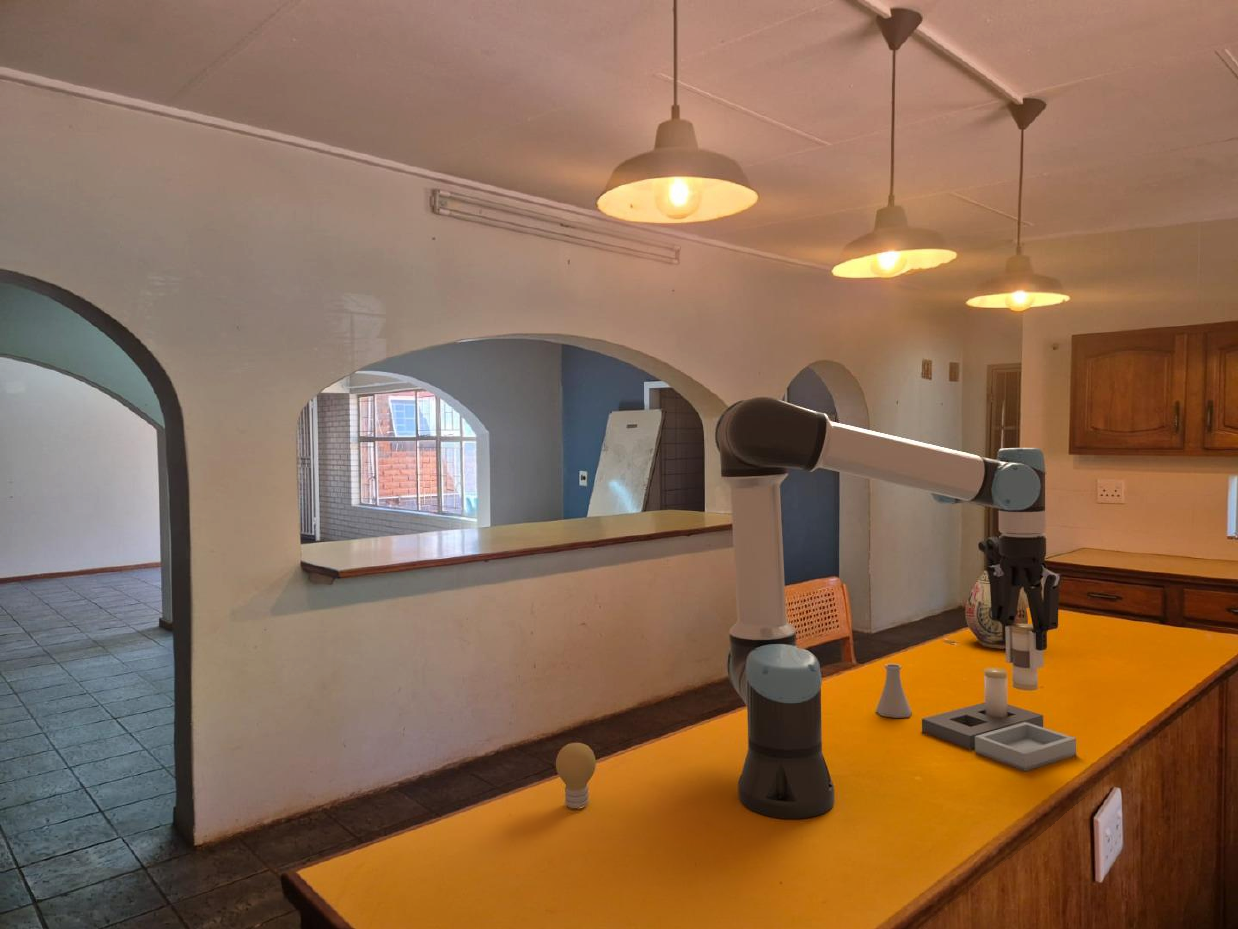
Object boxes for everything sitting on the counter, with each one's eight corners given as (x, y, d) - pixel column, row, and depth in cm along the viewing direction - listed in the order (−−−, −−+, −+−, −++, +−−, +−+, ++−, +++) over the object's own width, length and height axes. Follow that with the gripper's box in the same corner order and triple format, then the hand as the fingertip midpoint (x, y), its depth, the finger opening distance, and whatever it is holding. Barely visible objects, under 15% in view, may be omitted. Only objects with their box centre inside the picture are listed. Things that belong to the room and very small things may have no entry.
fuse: (998, 730, 158) (997, 674, 158) (980, 724, 162) (979, 669, 161) (1012, 727, 160) (1011, 671, 160) (994, 721, 164) (993, 666, 163)
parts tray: (1025, 771, 139) (1024, 754, 139) (975, 752, 148) (974, 736, 148) (1076, 755, 145) (1076, 738, 145) (1025, 737, 154) (1025, 722, 154)
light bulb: (559, 797, 134) (557, 737, 133) (598, 797, 134) (596, 736, 133) (554, 815, 127) (553, 752, 127) (595, 815, 127) (594, 751, 127)
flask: (914, 720, 166) (913, 671, 165) (877, 718, 167) (876, 670, 167) (909, 708, 173) (908, 661, 172) (873, 707, 174) (873, 660, 174)
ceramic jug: (958, 638, 231) (957, 532, 230) (1016, 638, 228) (1015, 531, 228) (976, 653, 214) (974, 539, 213) (1039, 654, 212) (1037, 539, 211)
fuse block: (969, 749, 149) (969, 736, 149) (922, 731, 159) (921, 718, 159) (1043, 728, 159) (1043, 715, 159) (994, 712, 169) (993, 700, 169)
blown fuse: (1028, 692, 144) (1026, 629, 143) (1007, 686, 147) (1006, 625, 147) (1042, 688, 145) (1041, 626, 145) (1022, 682, 149) (1021, 622, 149)
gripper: (1081, 536, 140) (1083, 672, 140) (994, 528, 155) (996, 651, 155) (1053, 540, 136) (1056, 679, 137) (967, 532, 151) (969, 657, 152)
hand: (1024, 664), depth 146 cm, fingers closed on blown fuse, 4 cm apart
